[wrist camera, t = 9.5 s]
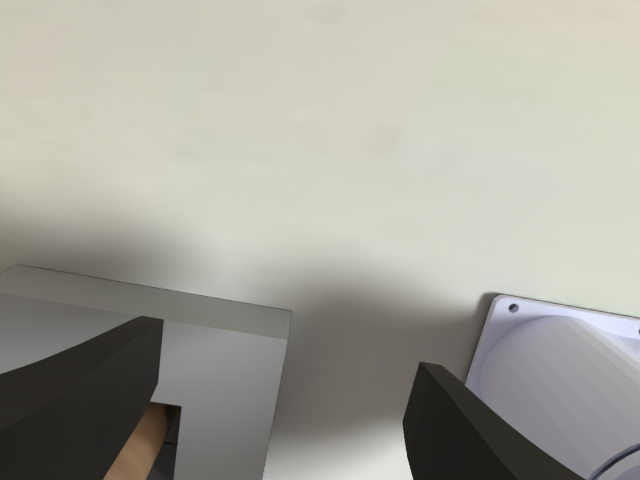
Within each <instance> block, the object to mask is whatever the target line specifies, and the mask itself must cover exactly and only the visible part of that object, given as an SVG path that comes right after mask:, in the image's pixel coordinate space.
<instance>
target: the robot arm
mask: <svg viewBox="0 0 640 480" xmlns="http://www.w3.org/2000/svg"><path fill="white" fill-rule="evenodd" d="M511 304H515V307H514V308H513V309H510V310H508V309H509V306H510V305H511ZM163 325H164V319H159V318H153V317H147V316H139V317H137V318H134V319H132V320H130V321H128V322H125V323H123V324H121V325H119V326H117V327H115V328H113V329H111V330H109V331H106V332H104V333H102V334H100V335H98V336H96V337H94V338H91V339H89V340H87V341H85V342H83V343H81V344H78V345H76V346H73V347H71V348H69V349H66V350H64V351H61V352H59V353H57V354H54V355H52V356H49V357H47V358H45V359H42V360H39V361H37V362H34V363H31V364H29V365H26V366H23V367H20V368H17V369H14V370H11V371H8V372H5V373H2V374H0V480H103V479H104V477H105V476H106V474H107V472H108V471H109V469H110V468H111V466H112V464H113V463H114V461H115V460H116V458H117V457H118V455H119V453H120V452H121V450H122V449H123V447H124V446H125V444H126V442H127V441H128V439H129V438H130V436H131V434H132V433H133V431H134V430H135V428H136V426H137V425H138V423H139V422H140V420H141V418H142V417H143V415H144V413H145V411H146V409H147V406H148V404H149V402H150V400H151V398H152V396H153V393H154V391H155V389H156V387H157V385H158V379H159V368H160V357H161V346H162V335H163ZM639 329H640V319H638V318H632V317H627V316H621V315H615V314H610V313H604V312H599V311H593V310H587V309H582V308H576V307H570V306H565V305H559V304H553V303H548V302H542V301H536V300H531V299H525V298H519V297H514V296H508V295H499V296H497V297H495V298H494V299H493V301H492V304H491V307H490V310H489V313H488V316H487V319H486V322H485V325H484V328H483V331H482V334H481V337H480V340H479V343H478V346H477V349H476V352H475V355H474V358H473V361H472V364H471V367H470V370H469V373H468V377H467V380H466V383H465V385H464V384H463V383H462V382H461V381H459V380H458V379H457V378H456V377H455V376H454V375H453V374H451V373H450V372H449V371H448V370H447V369H445V368H444V367H443V366H441V365H437V364H431V363H425V362H420V363H419V366H418V370H417V373H416V377H415V380H414V384H413V387H412V390H411V394H410V397H409V401H408V404H407V408H406V411H405V415H404V418H403V430H404V438H405V445H406V452H407V458H408V461H409V465H410V469H411V473H412V476H413V480H640V331H639Z"/></svg>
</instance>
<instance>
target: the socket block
mask: <svg viewBox="0 0 640 480" xmlns="http://www.w3.org/2000/svg"><path fill="white" fill-rule="evenodd" d="M291 315H292V311H289V310H283V309H277V308H271V307H265V306H259V305H253V304H248V303H242V302H236V301H230V300H224V299H218V298H212V297H206V296H200V295H194V294H189V293H183V292H177V291H171V290H165V289H159V288H153V287H147V286H141V285H135V284H130V283H124V282H118V281H112V280H106V279H100V278H94V277H88V276H82V275H76V274H71V273H65V272H59V271H53V270H47V269H41V268H35V267H29V266H23V265H16V266H14V267H12V268H10V269H8V270H6V271H4V272H2V273H0V374H2V373H5V372H8V371H11V370H14V369H17V368H20V367H23V366H26V365H29V364H31V363H34V362H37V361H39V360H42V359H45V358H47V357H49V356H52V355H54V354H57V353H59V352H61V351H64V350H66V349H69V348H71V347H73V346H76V345H78V344H81V343H83V342H85V341H87V340H89V339H91V338H94V337H96V336H98V335H100V334H102V333H104V332H106V331H109V330H111V329H113V328H115V327H117V326H119V325H121V324H123V323H125V322H128V321H130V320H132V319H134V318H137V317H139V316H147V317H153V318H159V319H164V325H163V335H162V346H161V357H160V368H159V379H158V385H157V387H156V389H155V391H154V393H153V396H152V398H151V400H150V401H151V402H158V403H164V404H171V405H177V406H182V409H181V418H180V427H179V435H178V444H177V445H173V444H166V443H163V444H162V446H161V449H160V451H159V453H158V455H157V457H156V459H155V461H154V463H153V465H152V467H151V469H150V471H149V474H148V476H147V478H146V480H262V477H263V471H264V466H265V461H266V455H267V450H268V445H269V439H270V434H271V429H272V423H273V418H274V412H275V407H276V402H277V396H278V391H279V386H280V380H281V375H282V370H283V364H284V359H285V353H286V348H287V343H288V336H289V329H290V322H291Z"/></svg>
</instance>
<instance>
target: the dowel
mask: <svg viewBox="0 0 640 480" xmlns="http://www.w3.org/2000/svg"><path fill="white" fill-rule="evenodd" d="M179 408H180V406H177V405H171V404H164V403H158V402H151V401H150V402H149V404H148V406H147V409H146V411H145V413H144V415H143V417H142V418H141V420H140V422H139V423H138V425H137V426H136V428H135V430H134V431H133V433H132V434H131V436H130V438H129V439H128V441H127V442H126V444H125V446H124V447H123V449H122V450H121V452H120V453H119V455H118V457H117V458H116V460H115V461H114V463H113V464H112V466H111V468H110V469H109V471H108V472H107V474H106V476H105V477H104V479H103V480H146V478H147V476H148V474H149V471H150V469H151V467H152V465H153V463H154V461H155V459H156V457H157V455H158V453H159V451H160V449H161V446H162V444H163V442H164V440H165V438H166V436H167V434H168V432H169V430H170V428H171V426H172V423H173V421H174V419H175V417H176V415H177V413H178V411H179Z"/></svg>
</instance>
